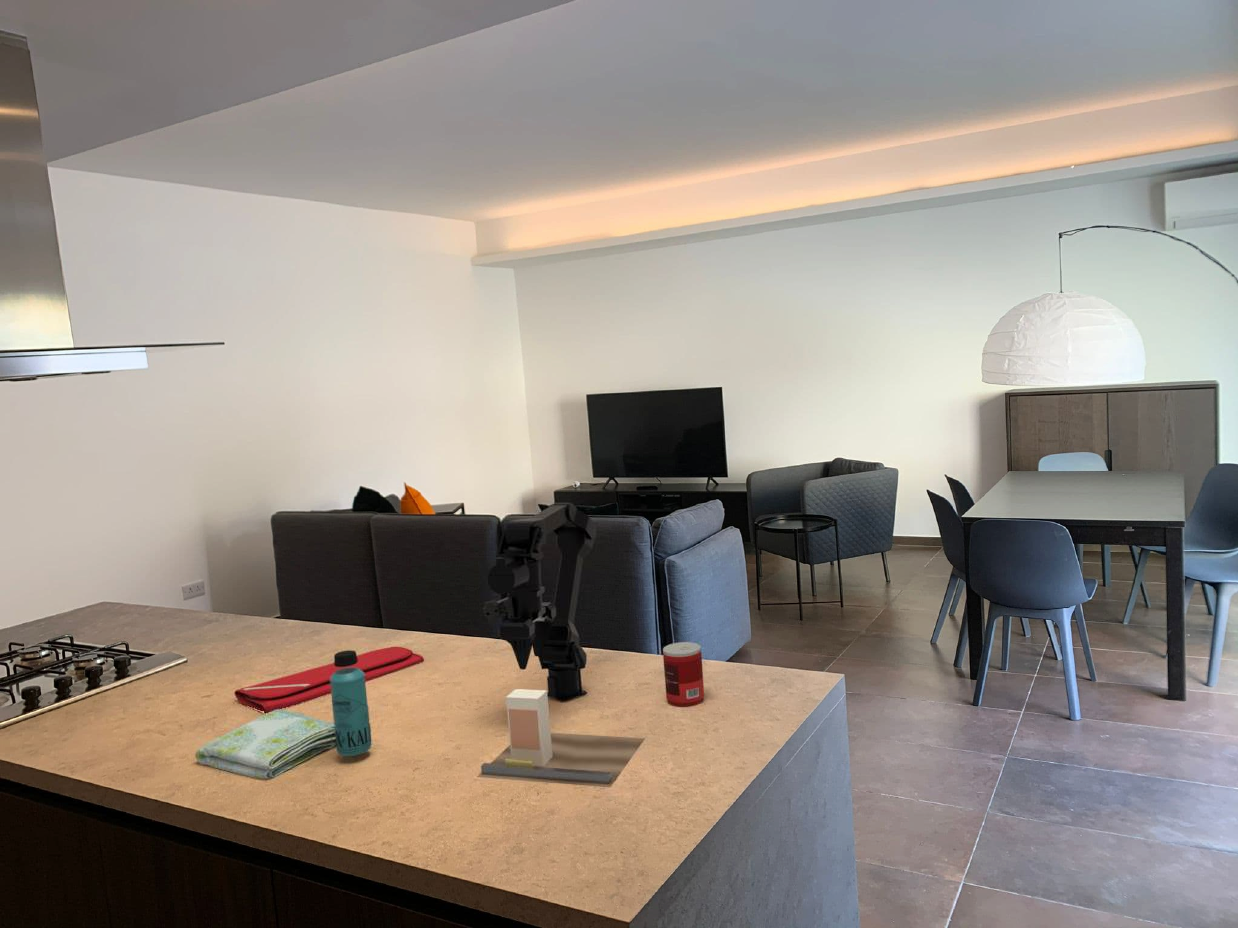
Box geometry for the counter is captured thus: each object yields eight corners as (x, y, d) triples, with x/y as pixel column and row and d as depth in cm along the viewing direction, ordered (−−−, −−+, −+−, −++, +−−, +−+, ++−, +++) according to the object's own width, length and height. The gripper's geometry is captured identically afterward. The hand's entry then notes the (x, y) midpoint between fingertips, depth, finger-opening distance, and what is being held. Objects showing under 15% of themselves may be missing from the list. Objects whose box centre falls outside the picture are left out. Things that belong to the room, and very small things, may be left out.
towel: (269, 784, 158) (266, 756, 158) (194, 765, 169) (191, 739, 169) (347, 744, 174) (345, 719, 174) (275, 730, 185) (272, 705, 184)
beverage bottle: (341, 751, 170) (330, 648, 168) (376, 747, 170) (366, 645, 168) (333, 766, 163) (321, 659, 161) (370, 762, 164) (359, 655, 162)
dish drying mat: (425, 663, 223) (424, 649, 222) (266, 717, 193) (264, 700, 192) (390, 654, 233) (388, 640, 233) (234, 703, 203) (232, 687, 203)
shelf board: (524, 736, 170) (524, 731, 170) (645, 743, 163) (645, 738, 163) (477, 782, 152) (476, 776, 152) (610, 792, 144) (610, 786, 144)
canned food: (709, 694, 185) (706, 642, 184) (696, 708, 178) (692, 654, 177) (675, 691, 188) (671, 640, 187) (660, 705, 181) (656, 652, 180)
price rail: (485, 770, 154) (484, 756, 154) (612, 779, 147) (611, 765, 147) (481, 774, 153) (480, 760, 152) (609, 784, 145) (608, 769, 145)
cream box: (521, 754, 160) (515, 688, 159) (552, 756, 158) (546, 690, 157) (511, 764, 156) (505, 697, 155) (543, 766, 154) (537, 699, 153)
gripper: (503, 575, 187) (507, 649, 188) (470, 593, 169) (474, 675, 170) (555, 575, 185) (558, 650, 185) (526, 594, 166) (530, 676, 167)
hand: (530, 662), depth 177 cm, fingers open, 9 cm apart
